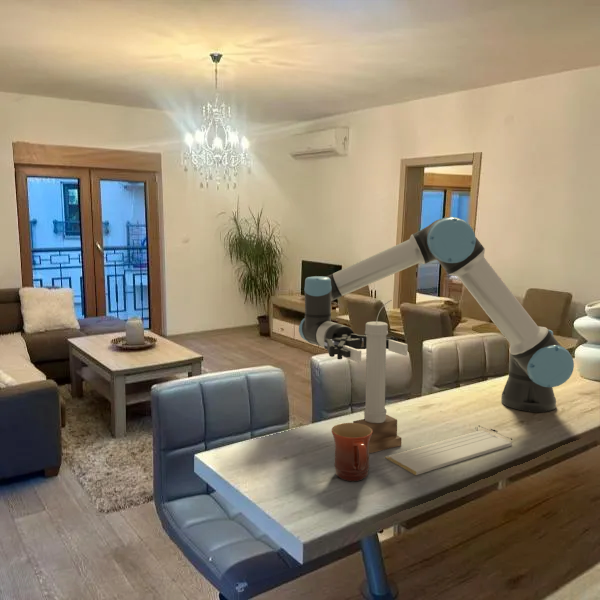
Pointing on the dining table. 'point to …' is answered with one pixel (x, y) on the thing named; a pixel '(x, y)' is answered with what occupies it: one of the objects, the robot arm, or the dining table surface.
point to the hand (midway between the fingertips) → (383, 353)
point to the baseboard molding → (448, 451)
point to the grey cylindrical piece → (375, 371)
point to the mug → (351, 450)
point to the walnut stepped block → (382, 434)
